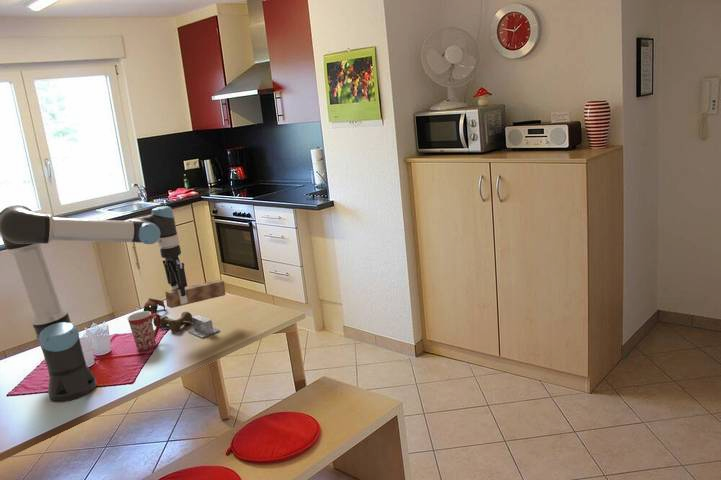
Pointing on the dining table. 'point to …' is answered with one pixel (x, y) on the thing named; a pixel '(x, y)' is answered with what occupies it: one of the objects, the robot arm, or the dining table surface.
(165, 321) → the kendama
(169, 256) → the robot arm
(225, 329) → the dining table surface
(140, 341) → the mug
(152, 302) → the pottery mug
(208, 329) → the fulcrum
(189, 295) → the walnut bar
